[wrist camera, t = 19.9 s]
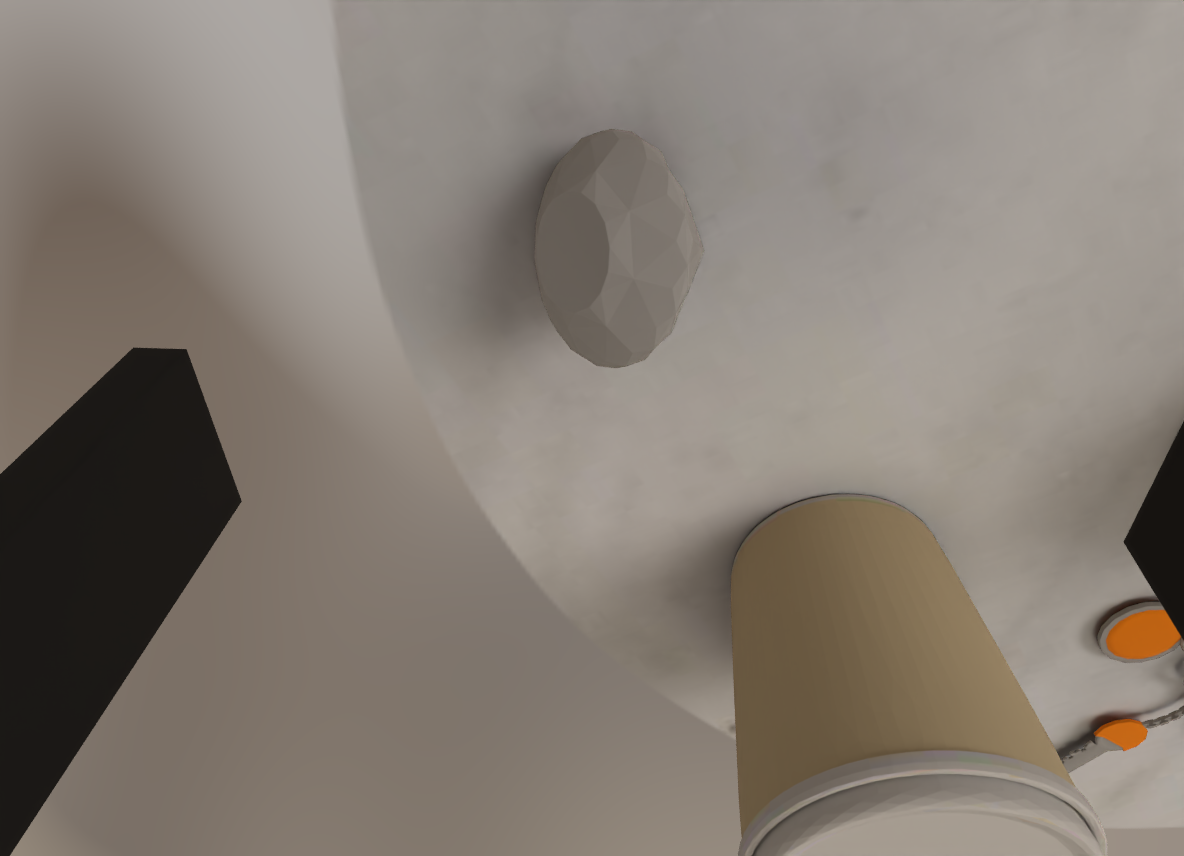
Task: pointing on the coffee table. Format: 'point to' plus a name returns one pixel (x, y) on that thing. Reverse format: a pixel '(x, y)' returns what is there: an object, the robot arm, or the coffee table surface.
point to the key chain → (1130, 641)
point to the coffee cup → (882, 701)
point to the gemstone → (614, 248)
